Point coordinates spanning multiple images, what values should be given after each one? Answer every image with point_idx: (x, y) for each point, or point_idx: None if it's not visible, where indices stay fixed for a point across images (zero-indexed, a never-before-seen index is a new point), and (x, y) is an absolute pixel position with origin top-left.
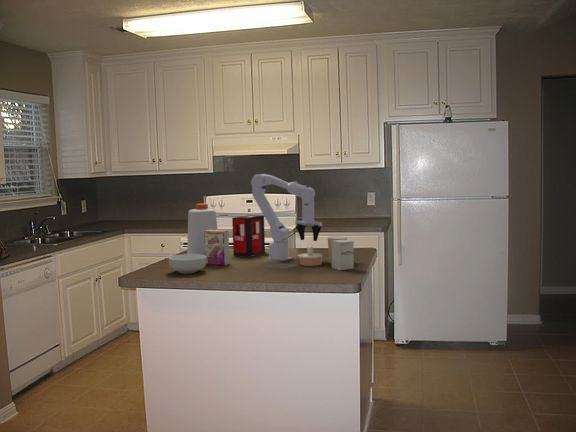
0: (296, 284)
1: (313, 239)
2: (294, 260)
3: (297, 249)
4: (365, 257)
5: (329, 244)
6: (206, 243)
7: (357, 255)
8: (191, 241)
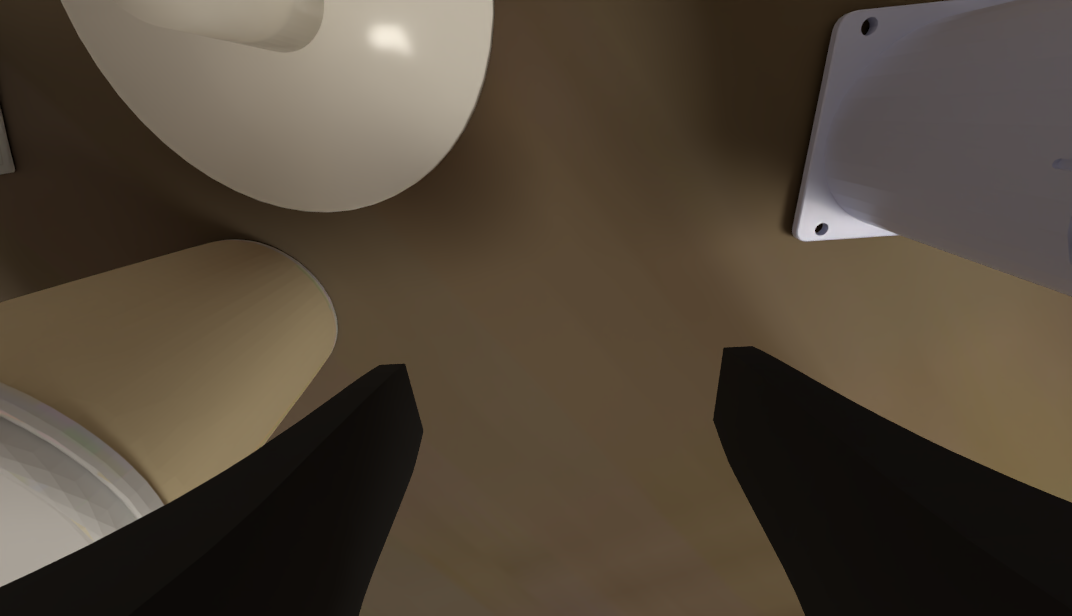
0: None
1: (389, 376)
2: (712, 164)
3: None
4: None
5: (36, 327)
6: None
7: (399, 574)
8: None
